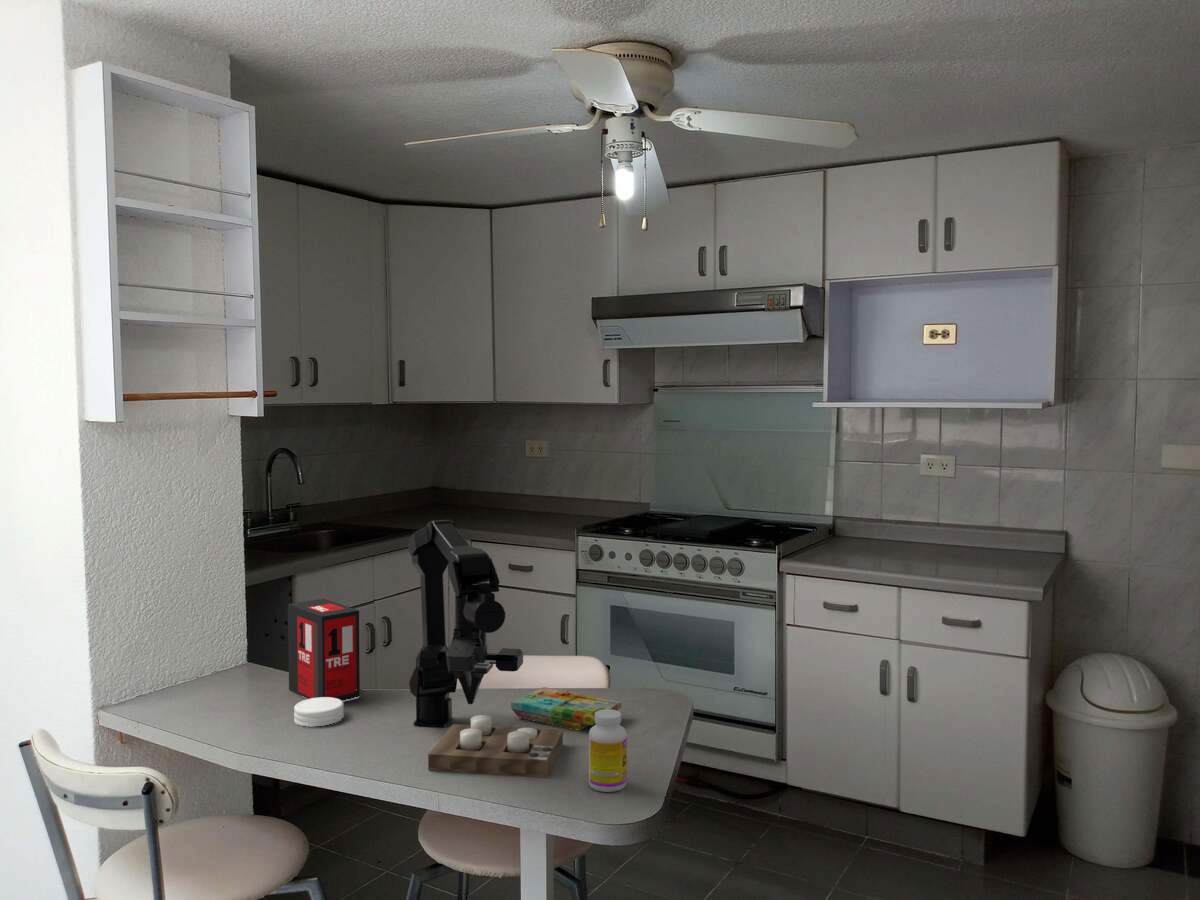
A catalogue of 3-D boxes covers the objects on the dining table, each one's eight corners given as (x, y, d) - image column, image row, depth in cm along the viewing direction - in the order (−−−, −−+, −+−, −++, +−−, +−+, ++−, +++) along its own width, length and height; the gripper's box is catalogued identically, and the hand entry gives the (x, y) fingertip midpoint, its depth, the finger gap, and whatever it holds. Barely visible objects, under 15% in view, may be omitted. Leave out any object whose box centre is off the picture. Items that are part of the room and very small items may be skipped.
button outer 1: (457, 749, 174) (457, 735, 174) (463, 742, 178) (463, 727, 178) (478, 751, 174) (478, 736, 174) (484, 743, 178) (484, 729, 178)
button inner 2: (514, 748, 181) (514, 734, 181) (518, 740, 185) (518, 727, 185) (534, 749, 180) (534, 735, 180) (538, 741, 184) (539, 728, 184)
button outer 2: (505, 752, 173) (505, 738, 173) (510, 744, 177) (510, 730, 177) (526, 753, 173) (526, 739, 173) (531, 745, 177) (531, 731, 177)
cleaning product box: (288, 690, 218) (287, 604, 217) (324, 682, 224) (323, 598, 223) (322, 707, 206) (322, 616, 205) (359, 698, 212) (359, 610, 211)
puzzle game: (541, 683, 210) (621, 698, 200) (541, 704, 210) (621, 720, 200) (511, 698, 199) (593, 714, 190) (511, 720, 200) (593, 737, 190)
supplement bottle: (628, 793, 163) (629, 719, 162) (589, 794, 162) (590, 720, 161) (624, 777, 169) (624, 706, 169) (587, 778, 169) (587, 707, 168)
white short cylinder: (297, 731, 192) (296, 714, 192) (291, 716, 201) (291, 699, 201) (347, 724, 196) (347, 708, 196) (339, 710, 205) (339, 694, 205)
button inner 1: (468, 735, 182) (468, 721, 182) (473, 728, 186) (473, 714, 186) (488, 736, 181) (488, 722, 181) (493, 729, 185) (493, 715, 185)
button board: (428, 770, 172) (428, 752, 172) (453, 738, 188) (453, 722, 188) (547, 777, 169) (547, 759, 169) (562, 744, 185) (562, 728, 185)
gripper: (407, 629, 168) (407, 715, 169) (510, 633, 166) (510, 721, 167) (427, 614, 179) (427, 695, 180) (523, 618, 177) (523, 700, 178)
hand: (470, 703), depth 176 cm, fingers closed
